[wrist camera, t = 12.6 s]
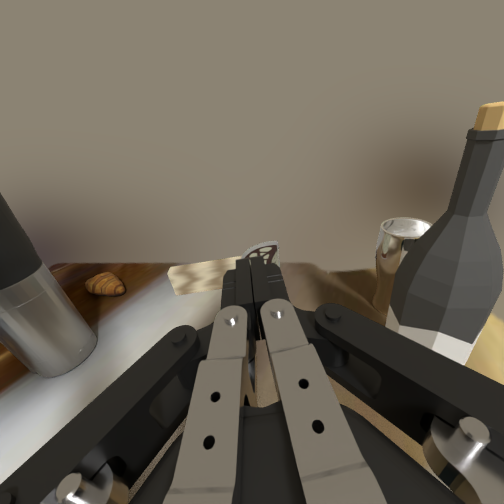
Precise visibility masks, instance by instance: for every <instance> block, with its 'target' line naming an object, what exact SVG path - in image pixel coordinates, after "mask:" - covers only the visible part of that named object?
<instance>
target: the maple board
mask: <svg viewBox="0 0 504 504" xmlns="http://www.w3.org/2000/svg"><path fill="white" fill-rule="evenodd" d="M241 257H242V256H238V257H231V258H226V259H219V260H213V261H207V262H200V263H194V264H188V265H182V266H176V267H170V269H169V272H168V276H169V279H170V281H171V284H172V286H173V289H174V291H175V293H176V296H177V295H183V294H190V293H196V292H202V291H209V290H215V289H221V288H222V285H223V276H224V275H225V273H226V272H227V270H232V269H236V260H237V259H241Z"/></svg>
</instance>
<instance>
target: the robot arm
mask: <svg viewBox="0 0 504 504" xmlns="http://www.w3.org/2000/svg"><path fill="white" fill-rule="evenodd" d="M250 263H251V265H250ZM258 322H259V323H258ZM259 328H260V332H259ZM260 333H261V338H262V340H263V339H265V340H266V346H267V351H268V356H269V361H270V365H271V370H272V374H273V379H274V383H275V388H276V392H277V397H278V402H276V403H273V404H271V405H269V406H267V407H264V408H259V407H258V406H257V356H256V341H257V340H260ZM0 342H1V343H2V344H3V345H4V346H5V347H6V348H7V349H8V350H9V351H10V352H11V353H12V354H13V355H15V356H16V357H17V358H18V359H19V360H20V361H21V362H22V363H23V364H24V365H25V366H26V367H27V368H28V369H29V370H30V371H31V372H32V373H34V372H37V373H38V374H39V375H40V376H42V377H45V378H51V377H56V376H59V375H62V374H64V373H66V372H68V371H70V370H72V369H73V368H75V367H76V366H78V365H79V364H80V363H81V362H83V361H84V360H85V359H86V358H87V357H88V356H89V355H90V354H91V352H92V351H93V349H94V348H95V346H96V342H97V337H96V335H95V334H94V333H93V331H92V330H91V328H90V327H89V326H88V324H87V323H86V321H85V320H84V319H83V317H82V316H81V314H80V313H79V312H78V310H77V309H76V307H75V306H74V305H73V303H72V302H71V301H70V299H69V298H68V296H67V295H66V294H65V292H64V291H63V289H62V288H61V287H60V285H59V284H58V282H57V281H56V280H55V278H54V277H53V276H52V274H51V273H50V272H49V270H48V269H47V267H46V266H45V265H44V263H43V262H42V260H41V259H40V258H39V256H38V255H37V253H36V251H35V249H34V247H33V245H32V243H31V241H30V239H29V237H28V236H27V235H26V233H25V231H24V230H23V229H22V227H21V225H20V224H19V222H18V221H17V219H16V218H15V216H14V214H13V213H12V211H11V209H10V208H9V206H8V204H7V203H6V201H5V200H4V198H3V197H2V195H1V193H0ZM327 375H328V376H330V377H331V378H332V379H334V380H335V381H336V382H338V383H339V384H340V385H342V386H343V387H344V388H346V389H347V390H348V391H350V392H351V393H352V394H354V395H355V396H356V397H358V398H359V399H360V400H362V401H363V402H364V403H366V404H367V405H368V406H370V407H371V408H372V409H373V410H375V411H376V412H377V413H379V414H380V415H381V416H383V417H384V418H385V419H387V420H388V421H389V422H391V423H392V424H393V425H395V426H396V427H397V428H399V429H400V430H401V431H403V432H404V433H405V434H407V435H408V436H409V437H411V438H412V439H413V440H415V441H416V442H417V443H419V444H420V445H421V446H423V453H424V456H425V458H426V461H427V463H428V464H429V466H430V468H431V469H432V471H433V472H434V473H435V474H436V475H437V476H438V478H439V479H441V480H442V481H443V482H444V483H445V484H446V485H447V486H448V487H449V488H450V490H449V489H448V488H447V487H446V486H445V485H443V484H442V483H441V482H440V481H438V480H437V479H436V478H435V477H434V476H433V475H432V474H430V473H429V472H428V471H427V470H426V469H424V468H423V467H422V466H421V465H420V464H419V463H417V462H416V461H415V460H414V459H413V458H411V457H410V456H409V455H408V454H407V453H405V452H404V451H403V450H402V449H401V448H400V447H398V446H397V445H396V444H395V443H394V442H392V441H391V440H390V439H389V438H388V437H386V436H385V435H384V434H383V433H382V432H381V431H379V430H378V429H377V428H376V427H375V426H373V425H372V424H371V423H370V422H369V421H368V420H366V419H365V418H364V417H363V416H361V415H360V414H358V413H357V412H355V411H354V410H352V409H350V408H348V407H346V406H344V405H342V404H339V402H338V400H337V397H336V395H335V393H334V390H333V388H332V386H331V384H330V381H329V379H328V377H327ZM186 416H187V420H186V424H185V429H184V431H183V432H182V433H181V434H180V435H179V436H178V437H177V438H176V440H175V441H174V442H173V443H172V444H171V446H170V447H169V448H168V450H167V451H166V453H165V454H164V455H163V457H162V458H161V460H160V461H159V462H158V464H157V465H156V466H155V468H154V469H153V471H152V472H151V473H150V475H149V476H148V478H147V479H146V480H145V482H144V483H143V485H142V486H141V487H140V489H139V490H138V491H137V493H136V494H135V496H134V497H133V498H132V500H131V501H130V503H129V504H504V385H502V384H500V383H498V382H496V381H494V380H492V379H490V378H488V377H486V376H484V375H482V374H480V373H478V372H476V371H474V370H472V369H470V368H468V367H466V366H464V365H462V364H460V363H458V362H456V361H454V360H451V359H449V358H447V357H445V356H443V355H441V354H439V353H437V352H435V351H433V350H431V349H429V348H427V347H425V346H423V345H421V344H419V343H417V342H415V341H413V340H411V339H409V338H407V337H405V336H403V335H401V334H399V333H397V332H395V331H393V330H391V329H389V328H387V327H385V326H383V325H380V324H378V323H376V322H374V321H372V320H370V319H368V318H366V317H364V316H362V315H360V314H358V313H356V312H354V311H352V310H350V309H348V308H346V307H344V306H342V305H339V304H335V303H327V304H323V305H321V306H319V307H318V308H317V309H316V311H315V312H313V311H305V310H300V309H298V308H296V307H295V306H293V305H292V304H291V302H290V300H289V297H288V294H287V291H286V287H285V284H284V280H283V277H282V274H281V270H280V267H279V266H277V265H276V264H275V263H269V264H265V262H264V257H263V255H261V256H255V257H250V260H249V258H243V259H237V260H236V269H232V270H227V272H226V273H225V275H224V276H223V285H222V298H221V310H220V311H219V312H218V313H217V315H216V316H215V320H214V322H213V323H212V324H210V325H208V326H206V327H204V328H202V329H199V330H197V331H196V330H195V329H194V328H193V327H192V326H189V325H183V326H179V327H176V328H174V329H172V330H171V331H170V332H168V333H167V334H166V335H165V336H164V337H163V338H162V339H161V340H159V341H158V342H157V343H156V344H155V345H154V346H153V347H152V348H151V349H150V350H148V351H147V352H146V353H145V354H144V355H143V356H142V357H141V358H140V359H138V360H137V361H136V362H135V363H134V364H133V365H132V366H131V367H130V368H129V369H127V370H126V371H125V372H124V373H123V374H122V375H121V376H120V377H119V378H118V379H116V380H115V381H114V382H113V383H112V384H111V385H110V386H109V387H108V388H106V389H105V390H104V391H103V392H102V393H101V394H100V395H99V396H98V397H97V398H95V399H94V400H93V401H92V402H91V403H90V404H89V405H88V406H87V407H86V408H84V409H83V410H82V411H81V412H80V413H79V414H78V415H77V416H76V417H74V418H73V419H72V420H71V421H70V422H69V423H68V424H67V425H66V426H65V427H63V428H62V429H61V430H60V431H59V432H58V433H57V434H56V435H55V436H53V437H52V438H51V439H50V440H49V441H48V442H47V443H46V444H45V445H44V446H42V447H41V448H40V449H39V450H38V451H37V452H36V453H35V454H34V455H33V456H31V457H30V458H29V459H28V460H27V461H26V462H25V463H24V464H23V465H21V466H20V467H19V468H18V469H17V470H16V471H15V472H14V473H13V474H12V475H10V476H9V477H8V478H7V479H6V480H5V481H4V482H3V483H2V484H0V504H127V503H128V498H129V490H130V489H131V487H132V486H133V485H134V483H135V482H136V481H137V480H138V478H139V477H140V476H141V474H142V473H143V472H144V470H145V469H146V468H147V467H148V465H149V464H150V463H151V461H152V460H153V459H154V458H155V456H156V455H157V454H158V452H159V451H160V450H161V449H162V447H163V446H164V445H165V443H166V442H167V441H168V440H169V438H170V437H171V436H172V434H173V433H174V432H175V431H176V429H177V428H178V427H179V425H180V424H181V423H182V422H183V420H184V419H185V418H186ZM451 490H452V491H451Z"/></svg>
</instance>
